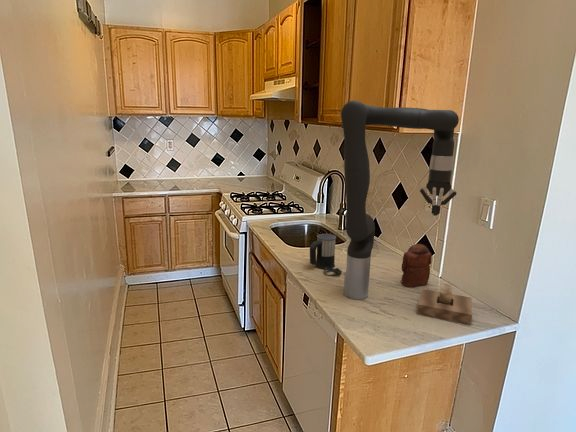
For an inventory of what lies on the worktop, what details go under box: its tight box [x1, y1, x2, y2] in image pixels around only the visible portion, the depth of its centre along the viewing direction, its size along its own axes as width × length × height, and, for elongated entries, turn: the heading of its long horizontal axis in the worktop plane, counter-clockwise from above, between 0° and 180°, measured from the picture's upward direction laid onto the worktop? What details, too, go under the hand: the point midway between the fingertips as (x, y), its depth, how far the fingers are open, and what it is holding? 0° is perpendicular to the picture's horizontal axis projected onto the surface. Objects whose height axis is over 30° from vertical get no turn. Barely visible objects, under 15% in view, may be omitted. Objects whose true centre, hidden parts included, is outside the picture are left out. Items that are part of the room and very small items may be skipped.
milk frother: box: [309, 233, 342, 275], centre depth 179 cm, size 14×16×15 cm
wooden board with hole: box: [416, 288, 473, 326], centre depth 144 cm, size 18×14×4 cm
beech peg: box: [439, 283, 454, 305], centre depth 143 cm, size 4×4×10 cm
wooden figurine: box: [400, 243, 433, 288], centre depth 164 cm, size 12×6×18 cm, turn 108°
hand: (435, 214), depth 142 cm, fingers closed
